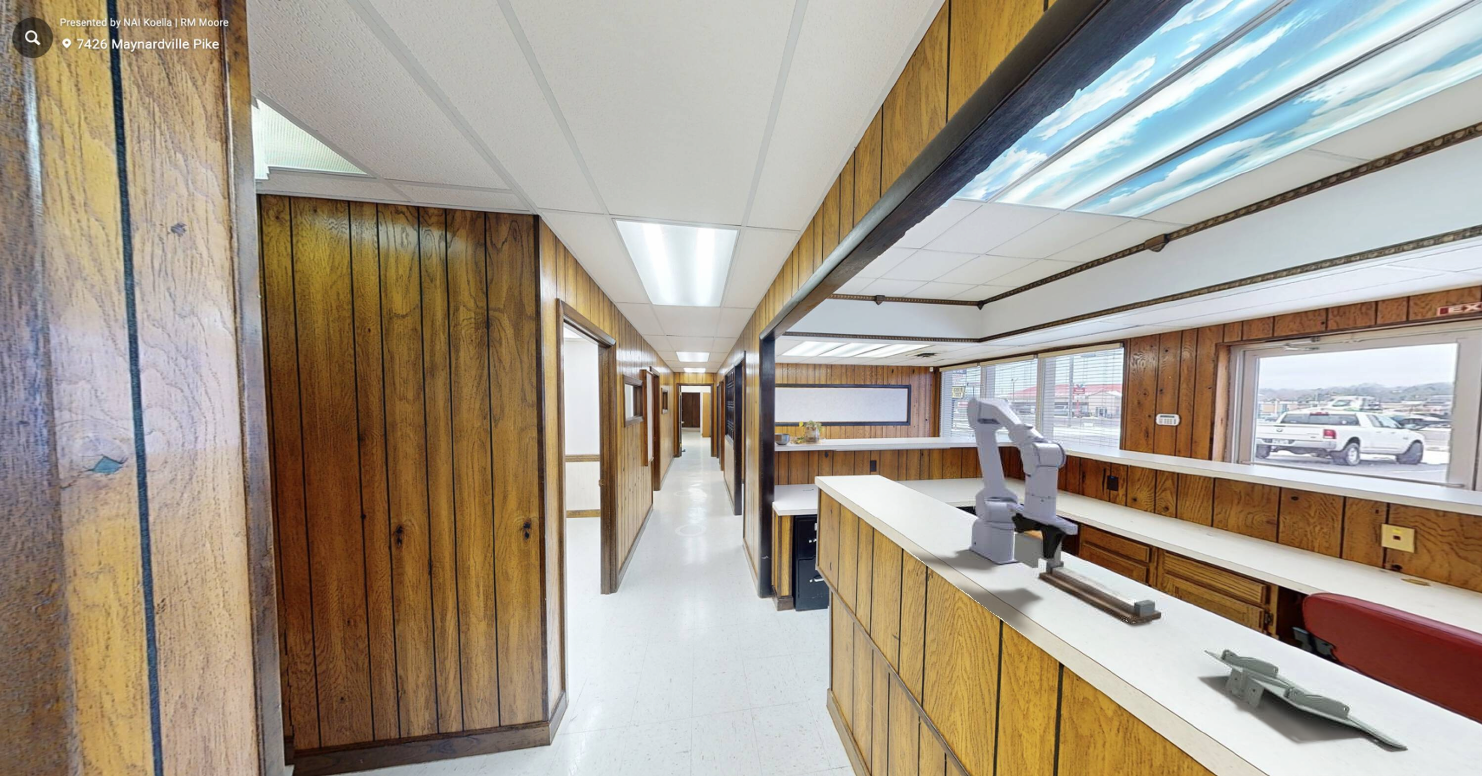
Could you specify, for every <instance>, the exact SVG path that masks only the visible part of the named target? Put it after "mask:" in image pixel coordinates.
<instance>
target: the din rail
mask: <svg viewBox="0 0 1482 776" xmlns="http://www.w3.org/2000/svg"><path fill="white" fill-rule="evenodd" d="M1045 563H1046V566H1045V572H1047V573H1049V574H1053V575H1055V576H1057V577H1059V578H1061V579H1064V580H1066V581H1068V582H1070V583H1072V584H1074V585H1076V586H1078V587H1080V588H1082V589H1084V590H1086V591H1088V592H1090V593H1092V594H1095V595H1097V596H1099V597H1101V598H1103V599H1105V600H1107V601H1109V602H1111V603H1113V604H1115V605H1117V606H1119V607H1121V608H1123V609H1126V610H1128V611H1130V612H1132V613H1134V615H1136V616H1138V617H1144V616H1149V615H1154V614H1155V610H1156V602H1155V601H1153V600H1151V599H1145V600H1138V599H1135V598H1133V597H1131V596H1128V595H1127V594H1125V593H1123V592H1120V591H1119V590H1115V589H1113V588H1111V587H1109V586H1107V585H1105V584H1103V583H1100V582H1098V581H1096V580H1094V579H1092V578H1090V577H1087V576H1084V575H1082V574H1080V573H1079V572H1076V571H1074V570H1072V569H1069V568H1067V567H1065V566H1064V565H1065V564H1064V563H1065V562H1064V561H1063V560H1061V561H1060V564H1059V565H1054V564H1052V563H1050V562H1047V561H1045Z"/></svg>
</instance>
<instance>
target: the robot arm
mask: <svg viewBox="0 0 1482 776" xmlns="http://www.w3.org/2000/svg"><path fill="white" fill-rule="evenodd" d="M966 405H967V406H966V417H967V422H968V425H969V428H971V429H972V430H973V433H974V436H975V442H976V448H977V452H978V460H979V465H980V471H981V475H982V480H983V486H984V487H983V488H982V489H981V490H980V491H978V492H977V493H976V494H975V498H974V499H975V506H974V507H975V508H974V509H975V515H976V516H977V519H975V520H974V522H973V524H972V525H971V526H972V527H971V544H970V546H968V549H969V550H970V551H973V552H975V553H977V554H979V555H980V556H983V557H984V558H986V559H988V560H990V561H992V562H993V563H996V564H998V565H1003V564H1011V563H1020V562H1019V561H1017V560H1015V559H1014V544H1015V529H1016V531H1017V532H1018V533H1024V531H1032V530H1034V531H1035V527H1036V524H1037V522H1038V523H1041V524H1043V525H1046V526H1042V527H1041V526H1040V530H1039V531H1041V533H1042V537H1043V555H1044V558H1046V559H1051V558H1054V555H1055V552H1056V550H1057V548H1058V546H1059V544H1060V542H1061V541H1063V540H1064V539H1065V537H1066V536H1067V535H1070V536H1071V535H1078V528H1079V527H1078V526H1079V525H1077V524H1076V523H1072V522H1070V521H1068V520H1067V519H1064V518H1062V517H1060V516H1058V515H1056V513H1057V510H1056V509H1057V497H1058V477H1059V469H1060V468H1062V467H1064V465H1065V464H1066V460H1067V454H1066V451H1065V448H1064V447H1063V446H1062V445H1061V444H1060V443H1059V442H1055V441H1053V442H1052V441H1051V440H1047V439H1046V438H1045V437H1044V436H1043V435H1041V433H1040V432H1039V431H1038V430H1037V429H1036V428H1035V427H1034V425H1033V424H1032V423H1026V422H1022V421H1021V420H1020V419H1019V417H1018V416H1017V415H1016V414H1015V412H1014V410H1013V409H1014V407H1013V403H1012V402H1011V401H1010V400H1009V398H1006V397H1005V398H992V397H991V398H988V397H987V398H983V397H982V398H981V397H971V398H970V399H969V400H968V402H967V404H966ZM1003 428H1005V429H1006V430H1007V431H1008V435H1007V437H1008V438H1009V440H1010V441H1011V442H1012V443H1013V444H1014V446H1015V447H1017V449H1018V450H1019V451H1020V459H1021V461H1022V464H1023V467H1022V469H1023V472H1024V473H1025V487H1024V500H1023V501H1024V502H1023V503H1024V504H1023V505H1022V504H1020V499H1019V497H1018V494H1016V493H1015V492H1013V491H1012V490H1010V489H1009V488H1007V485H1006V480H1005V476H1004V475H1005V474H1004V470H1003V466H1002V460H1001V455H1000V451H999V447H998V442H997V436H996V432H997V431H999V430H1002V429H1003Z"/></svg>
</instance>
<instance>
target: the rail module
mask: <svg viewBox="0 0 1482 776" xmlns="http://www.w3.org/2000/svg"><path fill="white" fill-rule="evenodd" d="M1062 541H1063V540H1062ZM1062 541H1061V542H1060V544H1059V546H1058V548H1057V550H1056V552H1055V555H1054V558H1051V559H1046V558H1044V555H1043V537H1042V533H1041V530H1035V529H1034V530H1032V531H1024V533H1016V532H1015V533H1014V545H1013V556H1014V559H1015V560H1017V561H1019V562H1018V563H1022V564H1023V565H1026V566H1028V567H1029V568H1031V569H1037V568H1039V559H1041V560H1044V561H1045V562H1050V563H1052V564H1054V565H1059V564H1060V561H1062V559H1061V558H1062Z"/></svg>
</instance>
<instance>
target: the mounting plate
mask: <svg viewBox="0 0 1482 776" xmlns="http://www.w3.org/2000/svg"><path fill="white" fill-rule="evenodd" d="M1038 574H1039V575H1038V577H1039V578H1040V579H1042V580H1045V581H1047V582H1048V583H1050V584H1052V585H1054V586H1056V587H1058V588H1060V589H1062V590H1064V591H1066V592H1068V593H1069V594H1072V595H1073V596H1075V597H1078V598H1079V599H1081V600H1083V601H1086V602H1087V603H1090V604H1092V605H1093V606H1095V607H1097V608H1099V609H1101V610H1102V611H1103V610H1104V612H1107V613H1110V614H1112V615H1113V616H1115V617H1117V618H1119V619H1121V618H1122V619H1121V620H1123V619H1124V620H1123V621H1125V620H1127V621H1128V622H1127V621H1126V622H1127V623H1129V622H1130V623H1129V624H1131V623H1132V624H1134V623H1133V622H1136V623H1139V622H1138V621H1141V622H1144V620H1146V621H1150V620H1149V619H1151V620H1154V619H1160V618H1162V612H1161V611H1159V610H1157V609H1155V614H1154V615H1149V616H1144V617H1138V616H1136V615H1134V613H1132V612H1130V611H1128V610H1126V609H1123V608H1121V607H1119V606H1117V605H1115V604H1113V603H1111V602H1109V601H1107V600H1105V599H1103V598H1101V597H1099V596H1097V595H1095V594H1092V593H1090V592H1088V591H1086V590H1084V589H1082V588H1080V587H1078V586H1076V585H1074V584H1072V583H1070V582H1068V581H1066V580H1064V579H1061V578H1059V577H1057V576H1055V575H1053V574H1049V573H1047V572H1046V571H1044V572H1038Z"/></svg>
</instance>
